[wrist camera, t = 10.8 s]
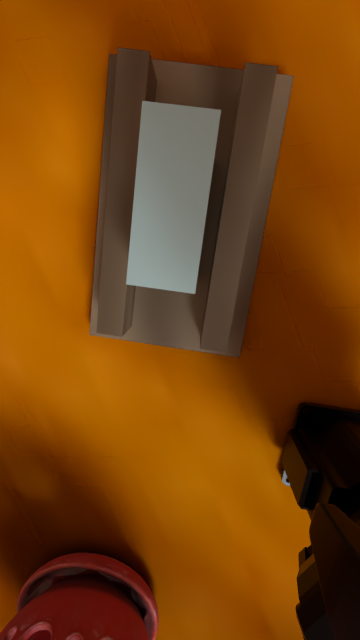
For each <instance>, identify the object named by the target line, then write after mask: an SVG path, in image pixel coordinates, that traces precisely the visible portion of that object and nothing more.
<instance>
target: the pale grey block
mask: <svg viewBox="0 0 360 640" xmlns="http://www.w3.org/2000/svg"><path fill="white" fill-rule="evenodd" d="M220 115H221V110H218V109H209V108H201V107H192V106H183V105H174V104H166V103H157V102H148V101H142V110H141V121H140V133H139V144H138V155H137V167H136V178H135V189H134V201H133V212H132V223H131V234H130V246H129V257H128V268H127V280H126V284H127V285H134V286H141V287H148V288H156V289H163V290H170V291H177V292H185V293H192V294H195V291H196V284H197V277H198V270H199V263H200V256H201V249H202V242H203V235H204V228H205V220H206V213H207V206H208V199H209V192H210V185H211V178H212V171H213V164H214V157H215V150H216V143H217V136H218V129H219V122H220Z"/></svg>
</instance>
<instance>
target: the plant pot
mask: <svg viewBox="0 0 360 640" xmlns="http://www.w3.org/2000/svg"><path fill="white" fill-rule="evenodd" d="M17 612H18V614H17V615H16V616H15V617H14V618H13V619H12V620H11V621H10V622H9V623H8V625H7V626H6V627H5V628H4V629H3V631H2V632H1V633H0V640H154V639H155V637H156V634H157V630H158V619H159V617H158V608H157V605H156V601H155V598H154V596H153V594H152V592H151V590H150V588H149V587H148V585H147V584H146V582H145V581H144V580H143V579H142V578H141V576H140V575H139V574H137V573H136V572H135V571H134V570H133V569H131V568H130V567H129V566H127V565H125V564H124V563H122V562H120V561H118V560H116V559H113V558H111V557H108V556H104V555H100V554H95V553H72V554H67V555H63V556H60V557H58V558H55V559H53V560H51V561H49V562H48V563H46V564H44V565H43V566H42V567H40V568H39V569H38V570H36V571H35V572H34V573H33V574H32V575H31V576H30V577H29V579H28V580H27V581H26V582H25V584H24V585H23V587H22V589H21V592H20V594H19V597H18V602H17Z"/></svg>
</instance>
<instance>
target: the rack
mask: <svg viewBox="0 0 360 640" xmlns="http://www.w3.org/2000/svg"><path fill="white" fill-rule="evenodd" d="M277 70H278V66H272V65H263V64H255V63H245V67H244V70H241V69H232V68H224V67H216V66H207V65H199V64H190V63H182V62H173V61H165V60H156V59H151V55H150V51H144V50H135V49H127V48H118V53H117V55H114V54H109V66H108V80H107V94H106V108H105V123H104V137H103V151H102V165H101V179H100V193H99V208H98V222H97V236H96V250H95V264H94V278H93V293H92V307H91V321H90V335H94V336H101V337H107V338H114V339H120V340H127V341H134V342H140V343H147V344H153V345H160V346H166V347H173V348H180V349H186V350H193V351H199V352H206V353H213V354H219V355H226V356H232V357H239V358H240V353H241V347H242V342H243V337H244V332H245V327H246V321H247V316H248V311H249V306H250V301H251V295H252V290H253V285H254V280H255V275H256V269H257V264H258V259H259V254H260V249H261V243H262V238H263V233H264V228H265V223H266V217H267V212H268V207H269V202H270V197H271V191H272V186H273V181H274V176H275V171H276V165H277V160H278V155H279V150H280V145H281V139H282V134H283V129H284V124H285V119H286V113H287V108H288V103H289V98H290V93H291V87H292V82H293V77H294V76H292V75H283V74H277ZM142 101H148V102H157V103H166V104H174V105H183V106H192V107H201V108H209V109H218V110H221V115H220V122H219V129H218V136H217V143H216V150H215V157H214V164H213V171H212V178H211V185H210V192H209V199H208V206H207V213H206V220H205V228H204V235H203V242H202V249H201V256H200V263H199V270H198V277H197V284H196V291H195V294H192V293H185V292H177V291H170V290H163V289H156V288H148V287H141V286H134V285H127V284H126V280H127V268H128V257H129V246H130V234H131V223H132V212H133V201H134V189H135V178H136V167H137V155H138V144H139V133H140V121H141V110H142Z"/></svg>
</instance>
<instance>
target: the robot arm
mask: <svg viewBox="0 0 360 640" xmlns="http://www.w3.org/2000/svg"><path fill="white" fill-rule="evenodd" d="M306 408H308V411H307V412H303V410H304V409H306ZM281 462H282V465H283V468H282V472H281V479H282V481H283V483H284V484H285V485H287V486H291V488H292V491H293V493H294V496H295V499H296V501H297V504H298V505H299V507H300V508H301V509H305V510H307V511H308V514H309V516H310V519H311V524H310V529H309V534H310V540H311V545H310V546H309V547H308V548H307V547H305V548H304V549H303V550H302V551H301V552H300V553H299V572H298V576H297V585H298V594H299V600H300V602H299V603H298V604H297V605H296V614H297V619H298V622H299V625H300V628H301V631H302V634H303V638H304V640H360V411H359V410H352V409H346V408H340V407H333V406H327V405H320V404H314V403H307V402H303V403H301V404H300V405H299V406H298V408H297V412H296V416H295V420H294V424H293V428H292V429H291V430H290V431H289V432H288V435H287V439H286V443H285V447H284V451H283V455H282V459H281ZM286 478H288V479H286Z"/></svg>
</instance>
